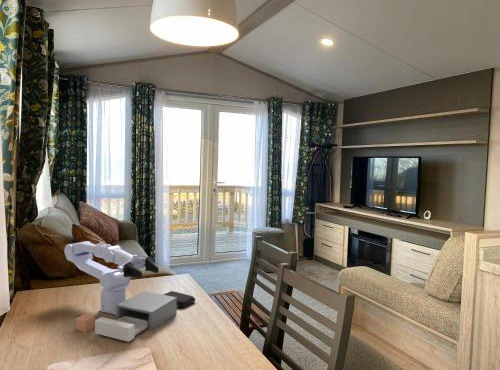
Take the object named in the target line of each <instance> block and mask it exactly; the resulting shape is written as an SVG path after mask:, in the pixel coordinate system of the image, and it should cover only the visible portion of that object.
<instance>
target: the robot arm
mask: <svg viewBox="0 0 500 370" xmlns="http://www.w3.org/2000/svg"><path fill="white" fill-rule="evenodd" d="M64 255H65V258H66V261H69V262H71V263H73V264H74V265H75V266H76V267H77V268H78V269H79V270H80V271H82V272H84V273H85V274H88V275H90V276H92V277H94V278H97V279H98V280H99V285H100V286H102V290H101V292H100V308H99V310H98V311H99V312H102V313H108V314H112V315H116V305H117V304H119V303H121V302H123V301H125V300H127V288H128V286H129V284H130V283H131V278H137V279H141V278H143V271H141V269H142V268H144V267H145V270H144V271H145V272H152V273H154V274H155V273H156V274H157V273H159V270H160V269H159V267H158V266H157V264H156V263H155V262H154V260H153V257H151V256H146V257H144V258H143V257H139V255H138V254H131V253H129V252H127V251H125V250H123V248H122V246H121V245H120V244H115V245H112V244H110V243H108V244H106V243H105V242H104V241H103V242H102V241H101V242H98V243H97V244H96V243H95V244H94V243H93V242H91V241H90V240H89V241H88V240H85V241H81V242H75V243H68V244H66V245H65V247H64ZM94 256H95V257H97V258H101V259H103V260H104V261H105V263H114V264H116V265H118V266H117V268H115V269H114V268H109V267H108V266H106V265H103V264H101V263H99V262H96V261H94V260H93V259H94Z"/></svg>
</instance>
